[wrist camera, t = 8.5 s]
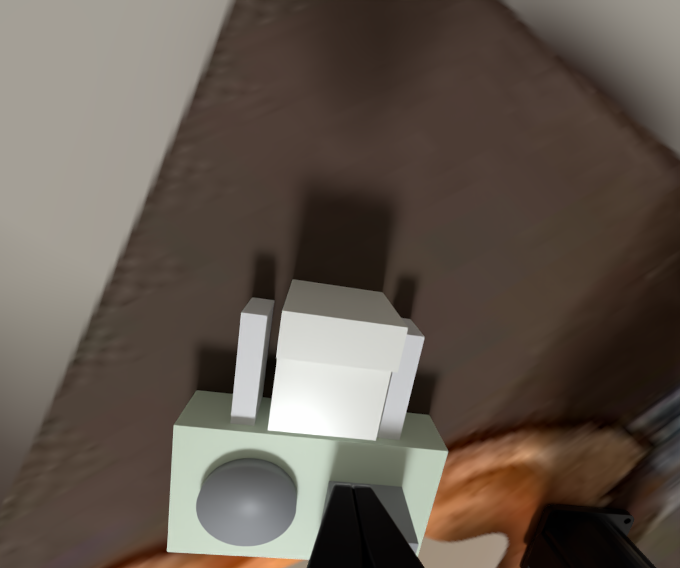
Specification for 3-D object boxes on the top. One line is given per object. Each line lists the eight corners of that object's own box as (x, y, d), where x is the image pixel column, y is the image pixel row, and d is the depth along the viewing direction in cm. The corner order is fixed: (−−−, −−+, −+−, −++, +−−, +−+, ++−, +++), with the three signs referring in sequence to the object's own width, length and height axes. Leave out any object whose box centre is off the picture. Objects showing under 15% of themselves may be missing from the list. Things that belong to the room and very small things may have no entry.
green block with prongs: (452, 325, 18) (515, 380, 13) (402, 517, 22) (432, 632, 16) (203, 290, 17) (144, 335, 11) (188, 501, 20) (136, 622, 14)
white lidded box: (382, 291, 18) (408, 327, 13) (362, 386, 19) (378, 453, 14) (292, 278, 17) (282, 310, 12) (279, 377, 19) (264, 443, 14)
